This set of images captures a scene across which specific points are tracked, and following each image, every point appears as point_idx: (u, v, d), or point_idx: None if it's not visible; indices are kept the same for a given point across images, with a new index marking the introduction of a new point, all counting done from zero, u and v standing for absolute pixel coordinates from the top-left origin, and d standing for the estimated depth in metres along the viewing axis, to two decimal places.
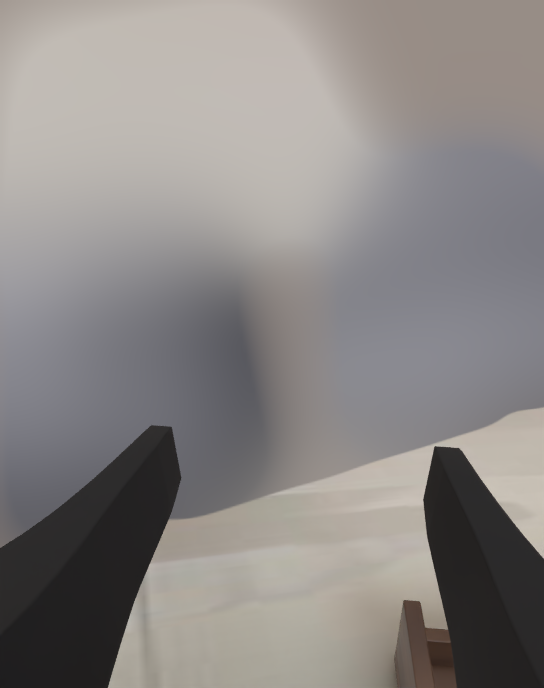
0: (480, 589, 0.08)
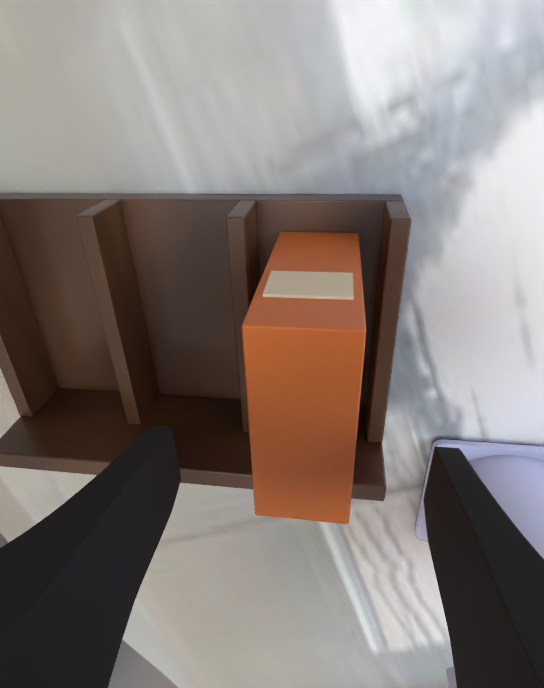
0: (480, 589, 0.08)
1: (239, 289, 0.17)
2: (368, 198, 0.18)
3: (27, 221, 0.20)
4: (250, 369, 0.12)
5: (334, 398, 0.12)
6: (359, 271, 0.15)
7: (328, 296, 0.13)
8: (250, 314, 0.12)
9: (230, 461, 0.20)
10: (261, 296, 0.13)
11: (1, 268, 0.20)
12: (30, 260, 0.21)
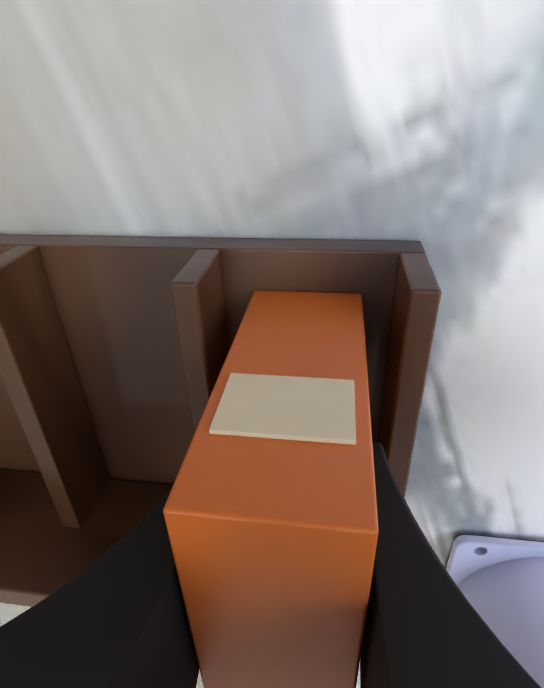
0: None
1: (195, 376, 0.12)
2: (375, 247, 0.13)
3: None
4: (184, 567, 0.07)
5: (324, 612, 0.08)
6: (364, 374, 0.10)
7: (315, 438, 0.08)
8: (182, 481, 0.07)
9: None
10: (208, 432, 0.08)
11: None
12: None
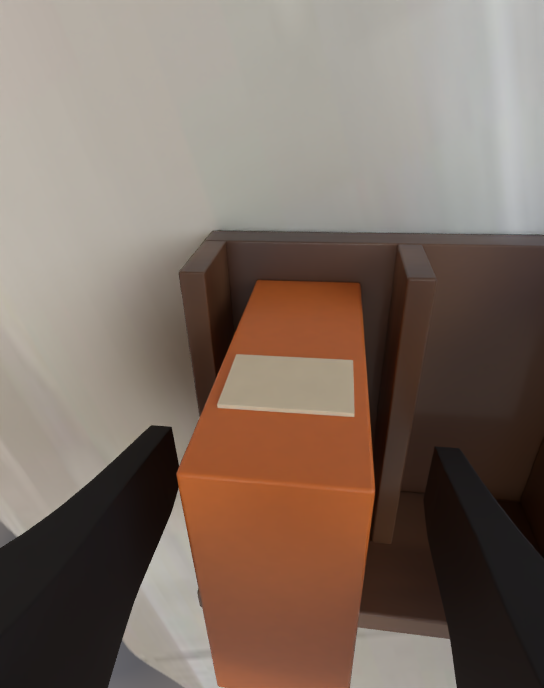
0: (480, 589, 0.08)
1: None
2: None
3: (265, 271, 0.14)
4: (195, 529, 0.08)
5: (325, 572, 0.08)
6: (362, 355, 0.10)
7: (316, 411, 0.08)
8: (193, 448, 0.08)
9: None
10: (216, 406, 0.09)
11: (225, 338, 0.14)
12: None
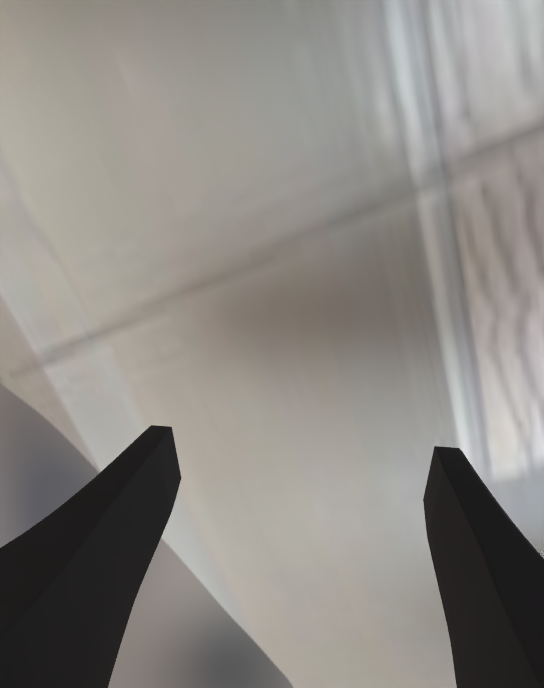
0: (480, 589, 0.08)
1: None
2: None
3: None
4: None
5: None
6: None
7: None
8: None
9: None
10: None
11: None
12: None
